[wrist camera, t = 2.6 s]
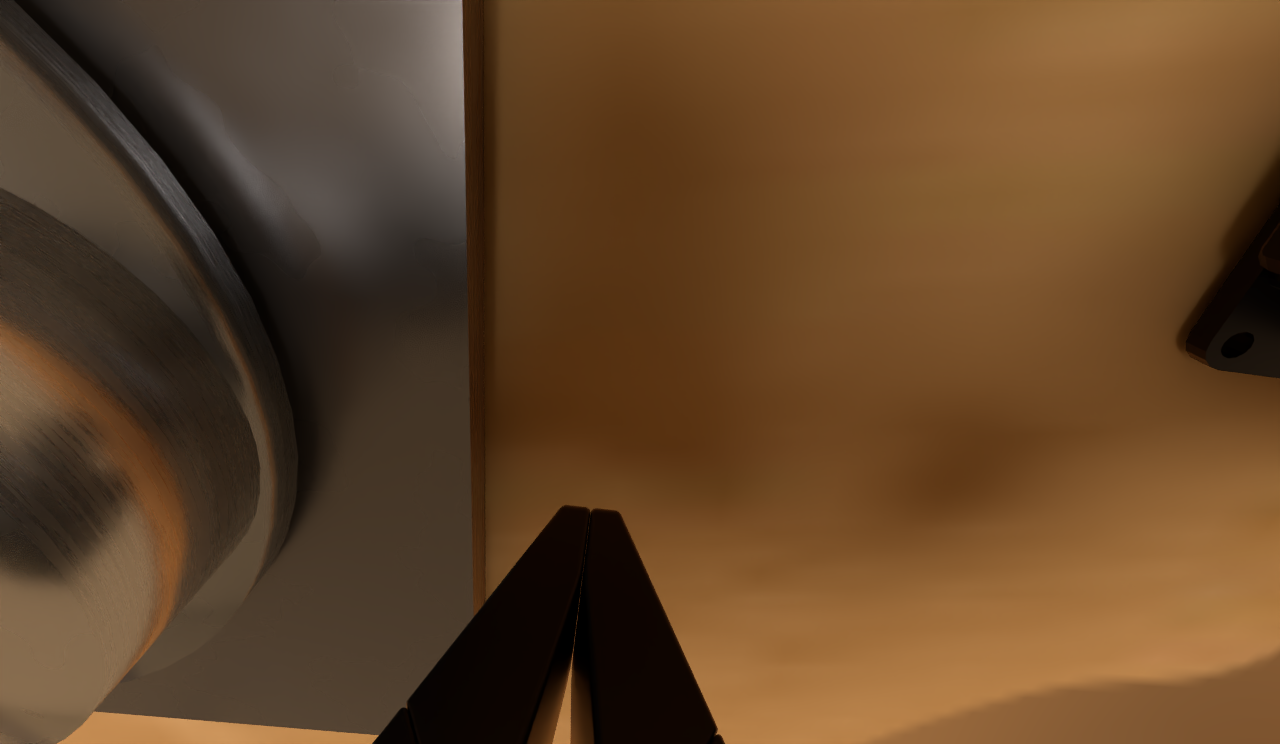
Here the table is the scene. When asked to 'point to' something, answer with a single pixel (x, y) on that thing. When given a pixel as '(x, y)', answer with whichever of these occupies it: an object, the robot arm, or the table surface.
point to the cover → (101, 472)
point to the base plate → (330, 322)
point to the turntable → (149, 279)
